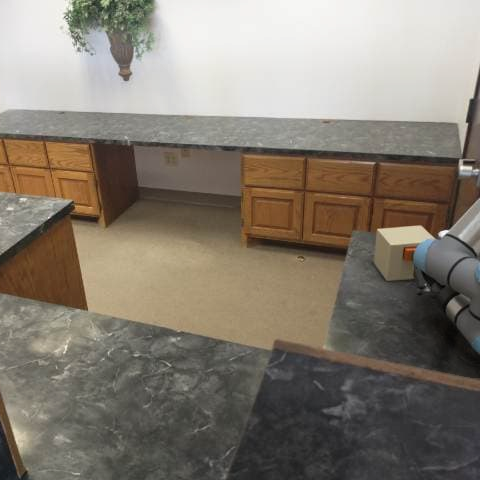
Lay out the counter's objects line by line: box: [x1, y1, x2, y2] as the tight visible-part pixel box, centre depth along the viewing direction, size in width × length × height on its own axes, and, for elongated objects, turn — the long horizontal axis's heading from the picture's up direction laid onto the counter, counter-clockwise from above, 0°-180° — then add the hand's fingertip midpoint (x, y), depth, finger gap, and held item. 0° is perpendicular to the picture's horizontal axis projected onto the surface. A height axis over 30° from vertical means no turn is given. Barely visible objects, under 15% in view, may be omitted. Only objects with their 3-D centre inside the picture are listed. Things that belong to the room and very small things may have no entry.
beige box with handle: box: [373, 225, 436, 282], centre depth 140 cm, size 12×10×11 cm
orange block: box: [403, 246, 417, 261], centre depth 134 cm, size 4×2×3 cm, turn 89°
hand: (415, 255), depth 133 cm, fingers closed
